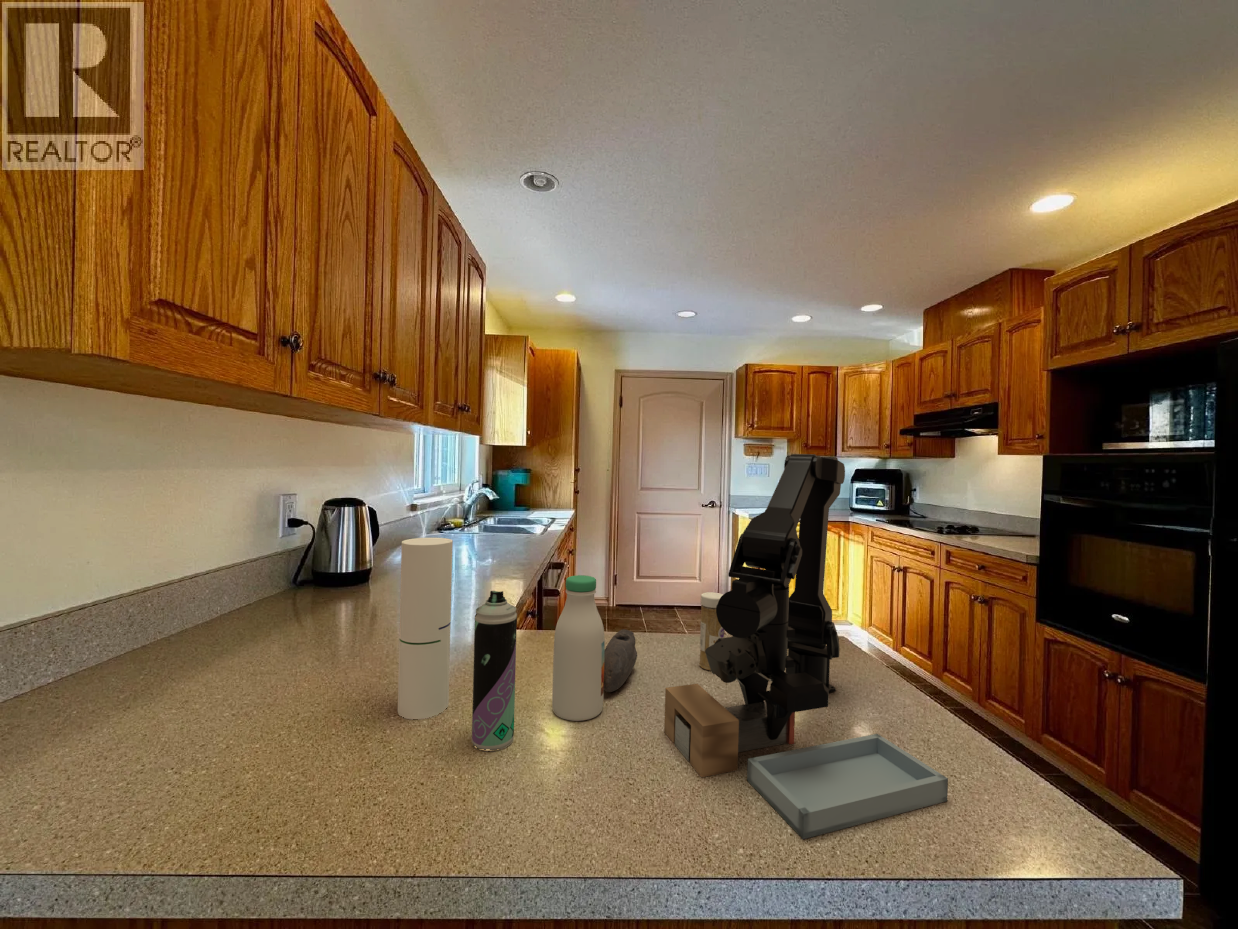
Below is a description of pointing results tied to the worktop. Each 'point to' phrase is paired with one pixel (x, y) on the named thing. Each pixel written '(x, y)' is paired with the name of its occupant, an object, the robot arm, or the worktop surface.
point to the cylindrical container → (424, 627)
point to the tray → (844, 784)
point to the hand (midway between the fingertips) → (763, 731)
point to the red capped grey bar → (741, 729)
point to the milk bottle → (578, 654)
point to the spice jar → (709, 625)
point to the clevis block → (704, 729)
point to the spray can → (494, 673)
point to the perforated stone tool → (619, 659)
